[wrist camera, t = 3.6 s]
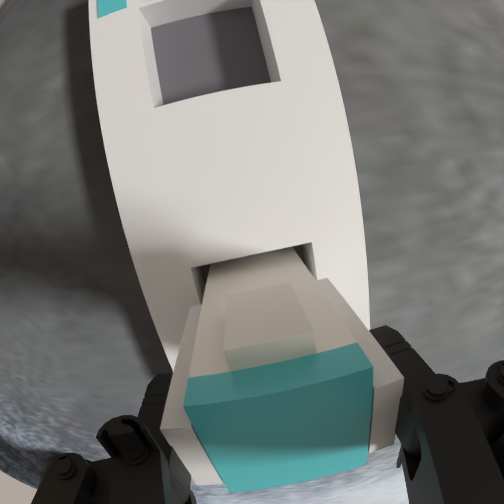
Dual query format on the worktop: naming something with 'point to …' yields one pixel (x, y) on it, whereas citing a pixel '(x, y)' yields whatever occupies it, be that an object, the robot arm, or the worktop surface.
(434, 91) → the worktop surface
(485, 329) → the worktop surface
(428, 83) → the worktop surface
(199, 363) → the plug
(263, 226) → the panel
